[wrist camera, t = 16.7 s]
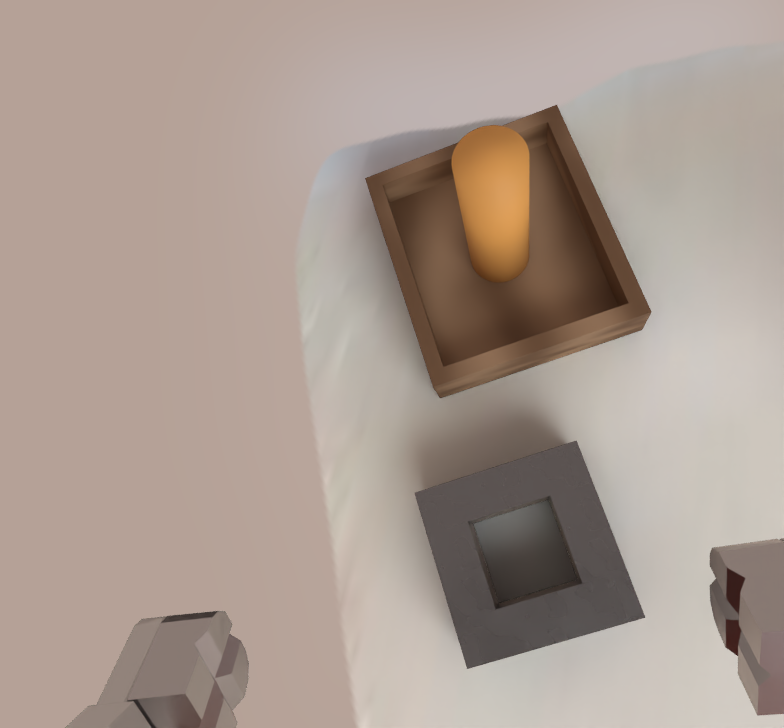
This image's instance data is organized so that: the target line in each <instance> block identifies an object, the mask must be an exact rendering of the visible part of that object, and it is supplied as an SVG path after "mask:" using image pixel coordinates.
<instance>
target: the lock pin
mask: <svg viewBox="0 0 784 728" xmlns="http://www.w3.org/2000/svg"><path fill="white" fill-rule="evenodd" d="M452 171H453V176H454V181H455V185H456V190H457V195H458V200H459V205H460V210H461V215H462V219H463V224H464V229H465V234H466V239H467V244H468V249H469V253H470V258H471V263H472V266H473V268H474V270H475V271H476V273H477V274H478V275H479V276H480V277H482V278H483V279H485V280H488V281H491V282H497V283H499V282H507V281H510V280H512V279H514V278H516V277H517V276H519V275H520V274H521V273H522V272H523V271H524V269H525V268H526V266H527V264H528V260H529V149H528V146H527V144H526V142H525V140H524V139H523V138H522V137H521V136H520V135H519V134H518V133H517V132H516V131H514V130H512V129H510V128H507V127H504V126H498V125H490V126H484V127H480V128H477V129H475V130H473V131H471V132H469V133H468V134H467V135H465V136H464V137H463V138H462V139H461V140H460V141H459V143H458V144H457V146H456V147H455V149H454V152H453V155H452Z"/></svg>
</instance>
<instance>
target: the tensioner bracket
mask: <svg viewBox="0 0 784 728" xmlns="http://www.w3.org/2000/svg"><path fill="white" fill-rule="evenodd" d="M415 496H416V499H417V503H418V506H419V509H420V513H421V516H422V519H423V523H424V526H425V529H426V533H427V536H428V539H429V543H430V546H431V549H432V553H433V556H434V559H435V563H436V566H437V569H438V573H439V576H440V579H441V583H442V586H443V589H444V593H445V596H446V599H447V603H448V606H449V609H450V613H451V616H452V619H453V623H454V626H455V629H456V633H457V636H458V639H459V643H460V646H461V649H462V653H463V656H464V659H465V663H466V666H467V669H469V668H472V667H476V666H479V665H482V664H486V663H489V662H493V661H496V660H500V659H503V658H507V657H510V656H514V655H517V654H521V653H524V652H527V651H531V650H534V649H538V648H541V647H545V646H548V645H552V644H555V643H559V642H562V641H566V640H569V639H572V638H576V637H579V636H583V635H586V634H590V633H593V632H597V631H600V630H604V629H607V628H611V627H614V626H617V625H621V624H624V623H628V622H631V621H635V620H638V619H642V618H645V615H644V613H643V610H642V608H641V605H640V603H639V600H638V597H637V595H636V592H635V590H634V587H633V585H632V582H631V579H630V577H629V574H628V572H627V569H626V567H625V564H624V562H623V559H622V556H621V554H620V551H619V549H618V546H617V544H616V541H615V538H614V536H613V533H612V531H611V528H610V526H609V523H608V520H607V518H606V515H605V513H604V510H603V508H602V505H601V502H600V500H599V497H598V495H597V492H596V490H595V487H594V484H593V482H592V479H591V477H590V474H589V472H588V469H587V466H586V464H585V461H584V459H583V456H582V454H581V451H580V449H579V446H578V443H577V441H574V442H571V443H568V444H564V445H561V446H558V447H555V448H552V449H549V450H546V451H543V452H540V453H537V454H534V455H530V456H527V457H524V458H521V459H518V460H515V461H512V462H509V463H506V464H503V465H500V466H496V467H493V468H490V469H487V470H484V471H481V472H478V473H475V474H472V475H469V476H466V477H462V478H459V479H456V480H453V481H450V482H447V483H444V484H441V485H438V486H435V487H432V488H428V489H425V490H422V491H419V492H416V493H415ZM546 500H549V503H550V505H551V508H552V511H553V514H554V516H555V519H556V522H557V525H558V527H559V530H560V533H561V536H562V538H563V541H564V544H565V547H566V549H567V552H568V555H569V558H570V560H571V563H572V566H573V569H574V571H575V574H576V577H577V580H574V581H571V582H567V583H564V584H561V585H557V586H554V587H551V588H547V589H544V590H541V591H537V592H534V593H531V594H527V595H524V596H521V597H517V598H514V599H511V600H507V601H504V602H501V603H499V602H498V598H497V595H496V592H495V589H494V586H493V583H492V580H491V577H490V574H489V571H488V568H487V565H486V561H485V558H484V555H483V552H482V549H481V546H480V543H479V540H478V537H477V534H476V531H475V527H474V524H473V523H476V522H479V521H482V520H485V519H488V518H492V517H495V516H498V515H501V514H504V513H507V512H511V511H514V510H517V509H520V508H523V507H526V506H530V505H533V504H536V503H539V502H542V501H546Z"/></svg>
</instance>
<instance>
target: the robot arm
mask: <svg viewBox="0 0 784 728" xmlns="http://www.w3.org/2000/svg"><path fill="white" fill-rule="evenodd" d="M710 567H711V569H712V571H713V573H714V575H715V577H716V579H715V580H714V582H713V583H712V584H711V585H710V601H711V606H712V611H713V616H714V620H715V622H716V625H717V628H718V631H719V634H720V636H721V638H722V640H723V643H724V645H725V647H726V648H727V649H729V650H730V651H731V652H733V653H734V654H736V655H737V656H738V675H739V677H740V680H741V682H742V684H743V686H744V688H745V690H746V692H747V694H748V696H749V699H750V701H751V703H752V705H753V707H754V709H755V711H756V713H757V715H771V714H784V538H782V539H780V540H779V539H772V540H765V541H757V542H750V543H743V544H736V545H728V546H721V547H714V548H712V550H711V552H710ZM231 627H232V623H231V621H230V619H229V617H228V615H227V614H226V612H225V611H213V612H204V613H193V614H183V615H173V616H166V617H157V618H147V619H142V620H140V621H139V622H138V623H137V624H136V625H135V626H134V628H133V630H132V632H131V634H130V636H129V638H128V640H127V642H126V644H125V647H124V649H123V651H122V653H121V655H120V657H119V659H118V661H117V663H116V665H115V667H114V670H113V671H112V674H111V676H110V678H109V680H108V682H107V684H106V686H105V688H104V690H103V692H102V694H101V696H100V699H99V701H98V703H97V705H91V706H88V707H87V708H86V709H85V710H84V711H83V712H81V713H80V714H79V715H78V716H77V717H76V718H75V719H74V720H73V721H72V722H71V723H70V724H69V725H67V726H66V727H65V728H236V726H237V720H236V718H235V716H234V713H233V711H232V710H233V709H234V708H235V707H236V706H237V705H238V704H239V703H240V701H241V700H242V699H243V698H244V696H245V692H246V688H247V684H248V667H249V663H248V658H247V654H246V650H245V648H244V646H243V644H242V642H241V641H240V640H239V639H237V638H235V637H234V636H232V635H231V634H229V633H230V630H231Z"/></svg>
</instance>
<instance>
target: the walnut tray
mask: <svg viewBox="0 0 784 728" xmlns="http://www.w3.org/2000/svg"><path fill="white" fill-rule="evenodd" d="M503 126H504V127H507V128H510V129H512V130H514V131H516V132H517V133H518V134H519V135H520V136H521V137H522V138H523V139H524V140H525V142H526V144H527V146H528V149H529V260H528V264H527V266H526V268H525V269H524V271H523V272H522V273H521V274H520V275H519V276H517V277H516V278H514V279H512V280H510V281H507V282H499V283H497V282H491V281H488V280H485V279H483V278H482V277H480V276H479V275H478V274H477V273H476V271H475V270H474V268H473V266H472V263H471V258H470V253H469V249H468V244H467V239H466V234H465V229H464V224H463V219H462V215H461V210H460V205H459V200H458V195H457V190H456V185H455V181H454V176H453V171H452V155H453V152H454V149H455V147H456V146H457V144H458V143H456V144H453V145H451V146H448V147H446V148H443V149H440V150H438V151H435V152H433V153H430V154H427V155H425V156H422V157H420V158H417V159H414V160H412V161H409V162H407V163H404V164H401V165H399V166H396V167H394V168H391V169H388V170H386V171H383V172H380V173H378V174H375V175H373V176H370V177H367V178H365V179H366V182H367V185H368V188H369V192H370V195H371V198H372V201H373V204H374V207H375V210H376V213H377V216H378V219H379V222H380V225H381V228H382V231H383V234H384V238H385V241H386V244H387V247H388V250H389V253H390V256H391V259H392V262H393V265H394V268H395V271H396V274H397V277H398V281H399V284H400V287H401V290H402V293H403V296H404V299H405V302H406V305H407V308H408V311H409V314H410V317H411V320H412V323H413V327H414V330H415V333H416V336H417V339H418V342H419V345H420V348H421V351H422V354H423V357H424V360H425V363H426V366H427V369H428V373H429V376H430V379H431V382H432V385H433V387H434V389H435V390H436V392H437V394H438V395H439V397H440V398H442V397H445V396H448V395H451V394H454V393H457V392H460V391H463V390H466V389H469V388H472V387H475V386H478V385H481V384H484V383H487V382H490V381H493V380H496V379H499V378H501V377H504V376H507V375H510V374H513V373H516V372H519V371H522V370H525V369H528V368H531V367H534V366H537V365H540V364H543V363H546V362H549V361H552V360H555V359H558V358H560V357H563V356H566V355H569V354H572V353H575V352H578V351H581V350H584V349H587V348H590V347H593V346H596V345H599V344H602V343H605V342H608V341H611V340H614V339H616V338H619V337H622V336H625V335H628V334H631V333H634V332H637V331H640V330H642V329H643V327H644V325H645V323H646V321H647V319H648V318H649V316H650V314H651V310H650V308H649V306H648V303H647V301H646V299H645V297H644V295H643V293H642V290H641V288H640V286H639V284H638V282H637V279H636V277H635V275H634V273H633V271H632V268H631V266H630V264H629V262H628V260H627V258H626V255H625V253H624V251H623V249H622V247H621V244H620V242H619V240H618V238H617V236H616V233H615V231H614V229H613V227H612V225H611V223H610V220H609V218H608V216H607V214H606V212H605V209H604V207H603V205H602V203H601V201H600V198H599V196H598V194H597V192H596V190H595V187H594V185H593V183H592V181H591V179H590V177H589V174H588V172H587V170H586V168H585V166H584V163H583V161H582V159H581V157H580V155H579V152H578V150H577V148H576V146H575V144H574V142H573V139H572V137H571V135H570V133H569V131H568V128H567V126H566V124H565V122H564V120H563V117H562V115H561V113H560V111H559V109H558V107H557V105H555V106H552V107H550V108H547V109H545V110H542V111H539V112H537V113H534V114H532V115H529V116H526V117H524V118H521V119H519V120H516V121H513V122H511V123H508V124H506V125H503Z"/></svg>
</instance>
